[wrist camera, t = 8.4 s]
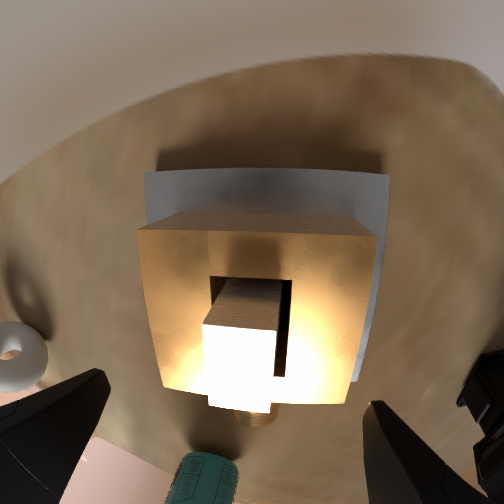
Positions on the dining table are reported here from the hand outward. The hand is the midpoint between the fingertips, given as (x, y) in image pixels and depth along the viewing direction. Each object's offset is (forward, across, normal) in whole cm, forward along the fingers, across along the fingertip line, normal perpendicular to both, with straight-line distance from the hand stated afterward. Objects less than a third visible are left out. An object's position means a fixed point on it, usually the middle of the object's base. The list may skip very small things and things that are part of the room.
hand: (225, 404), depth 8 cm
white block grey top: (+11, 0, 0) cm, 11 cm away
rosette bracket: (+11, 0, 0) cm, 11 cm away
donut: (+11, +26, +9) cm, 30 cm away
